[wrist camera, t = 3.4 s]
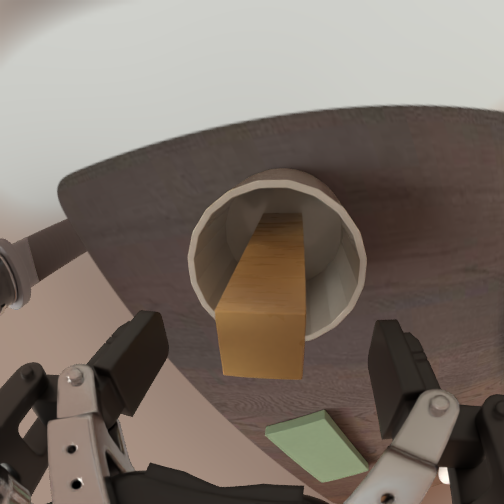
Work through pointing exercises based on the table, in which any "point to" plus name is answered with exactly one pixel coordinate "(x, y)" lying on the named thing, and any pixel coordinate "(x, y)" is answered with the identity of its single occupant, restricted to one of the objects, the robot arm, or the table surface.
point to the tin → (315, 243)
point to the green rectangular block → (318, 446)
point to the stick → (266, 303)
